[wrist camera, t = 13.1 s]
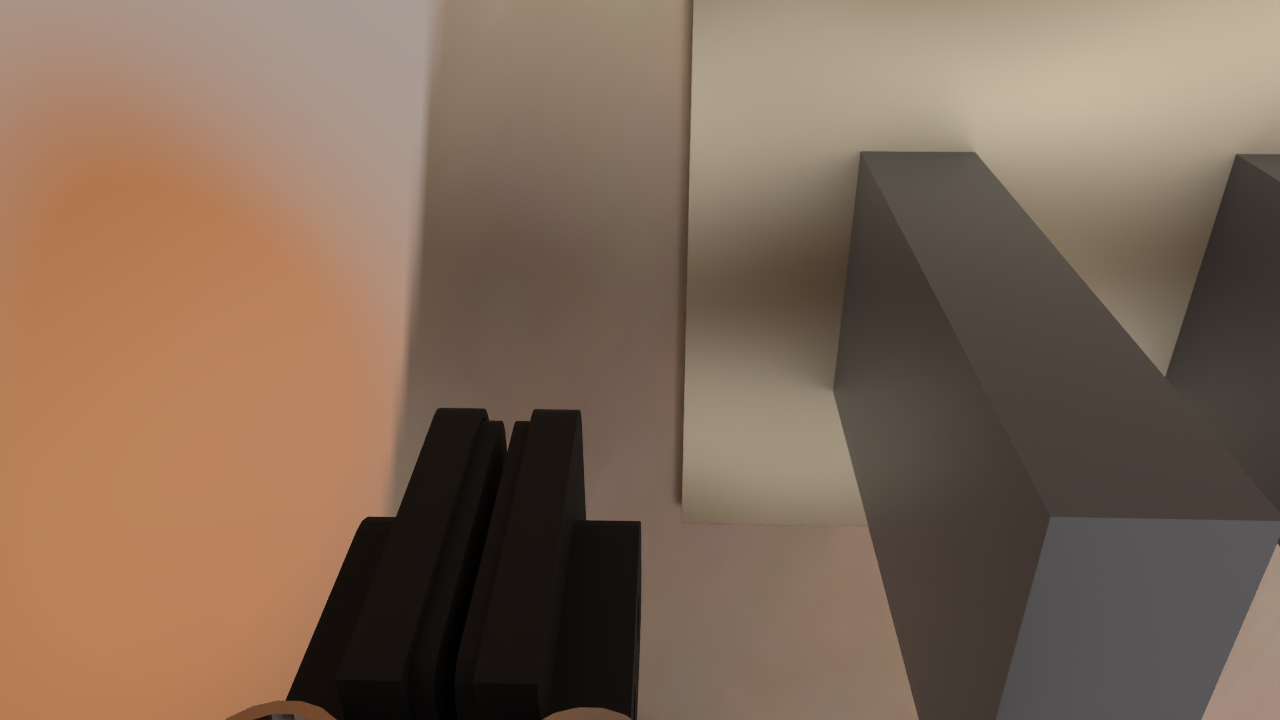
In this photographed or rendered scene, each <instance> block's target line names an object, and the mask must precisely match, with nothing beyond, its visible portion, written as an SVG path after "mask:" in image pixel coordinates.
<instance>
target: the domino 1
mask: <svg viewBox="0 0 1280 720" xmlns="http://www.w3.org/2000/svg"><path fill="white" fill-rule="evenodd" d="M833 393H834V397H835V401H836V405H837V409H838V412H839V416H840V420H841V424H842V428H843V432H844V435H845V439H846V443H847V447H848V451H849V454H850V458H851V462H852V466H853V470H854V474H855V477H856V481H857V485H858V489H859V493H860V496H861V500H862V504H863V508H864V512H865V516H866V519H867V523H868V527H869V531H870V535H871V538H872V542H873V546H874V550H875V554H876V558H877V561H878V565H879V569H880V573H881V577H882V580H883V584H884V588H885V592H886V596H887V599H888V603H889V607H890V611H891V615H892V619H893V622H894V626H895V630H896V634H897V638H898V641H899V645H900V649H901V653H902V657H903V661H904V664H905V668H906V672H907V676H908V680H909V683H910V687H911V691H912V695H913V699H914V703H915V706H916V710H917V714H918V718H919V720H1201V719H1202V716H1203V714H1204V712H1205V709H1206V707H1207V705H1208V703H1209V700H1210V698H1211V696H1212V693H1213V691H1214V689H1215V686H1216V684H1217V682H1218V679H1219V677H1220V675H1221V672H1222V670H1223V668H1224V665H1225V663H1226V661H1227V658H1228V656H1229V654H1230V651H1231V649H1232V647H1233V644H1234V642H1235V640H1236V638H1237V635H1238V633H1239V631H1240V628H1241V626H1242V624H1243V621H1244V619H1245V617H1246V614H1247V612H1248V610H1249V607H1250V605H1251V603H1252V600H1253V598H1254V596H1255V593H1256V591H1257V589H1258V586H1259V584H1260V582H1261V579H1262V577H1263V575H1264V573H1265V570H1266V568H1267V566H1268V563H1269V561H1270V559H1271V556H1272V554H1273V552H1274V549H1275V547H1276V545H1277V542H1278V540H1279V538H1280V513H1279V512H1278V511H1277V509H1276V508H1275V507H1274V506H1273V505H1272V503H1271V502H1270V501H1269V500H1268V499H1267V497H1266V496H1265V495H1264V494H1263V493H1262V492H1261V490H1260V489H1259V488H1258V487H1257V486H1256V484H1255V483H1254V482H1253V481H1252V480H1251V478H1250V477H1249V476H1248V475H1247V474H1246V473H1245V471H1244V470H1243V469H1242V468H1241V467H1240V465H1239V464H1238V463H1237V462H1236V461H1235V460H1234V458H1233V457H1232V456H1231V455H1230V454H1229V452H1228V451H1227V450H1226V449H1225V448H1224V446H1223V445H1222V444H1221V443H1220V442H1219V441H1218V439H1217V438H1216V437H1215V436H1214V435H1213V433H1212V432H1211V431H1210V430H1209V429H1208V428H1207V426H1206V425H1205V424H1204V423H1203V422H1202V420H1201V419H1200V418H1199V417H1198V416H1197V414H1196V413H1195V412H1194V411H1193V410H1192V409H1191V407H1190V406H1189V405H1188V404H1187V403H1186V401H1185V400H1184V399H1183V398H1182V397H1181V396H1180V394H1179V393H1178V392H1177V391H1176V390H1175V388H1174V387H1173V386H1172V385H1171V384H1170V382H1169V381H1168V380H1167V379H1166V378H1165V377H1164V375H1163V374H1162V373H1161V372H1160V371H1159V369H1158V368H1157V367H1156V366H1155V365H1154V364H1153V362H1152V361H1151V360H1150V359H1149V358H1148V356H1147V355H1146V354H1145V353H1144V352H1143V350H1142V349H1141V348H1140V347H1139V346H1138V345H1137V343H1136V342H1135V341H1134V340H1133V339H1132V337H1131V336H1130V335H1129V334H1128V333H1127V331H1126V330H1125V329H1124V328H1123V327H1122V326H1121V324H1120V323H1119V322H1118V321H1117V320H1116V318H1115V317H1114V316H1113V315H1112V314H1111V313H1110V311H1109V310H1108V309H1107V308H1106V307H1105V305H1104V304H1103V303H1102V302H1101V301H1100V299H1099V298H1098V297H1097V296H1096V295H1095V294H1094V292H1093V291H1092V290H1091V289H1090V288H1089V286H1088V285H1087V284H1086V283H1085V282H1084V281H1083V279H1082V278H1081V277H1080V276H1079V275H1078V273H1077V272H1076V271H1075V270H1074V269H1073V267H1072V266H1071V265H1070V264H1069V263H1068V262H1067V260H1066V259H1065V258H1064V257H1063V256H1062V254H1061V253H1060V252H1059V251H1058V250H1057V249H1056V247H1055V246H1054V245H1053V244H1052V243H1051V241H1050V240H1049V239H1048V238H1047V237H1046V235H1045V234H1044V233H1043V232H1042V231H1041V230H1040V228H1039V227H1038V226H1037V225H1036V224H1035V222H1034V221H1033V220H1032V219H1031V218H1030V217H1029V215H1028V214H1027V213H1026V212H1025V211H1024V209H1023V208H1022V207H1021V206H1020V205H1019V203H1018V202H1017V201H1016V200H1015V199H1014V198H1013V196H1012V195H1011V194H1010V193H1009V192H1008V190H1007V189H1006V188H1005V187H1004V186H1003V184H1002V183H1001V182H1000V181H999V180H998V179H997V177H996V176H995V175H994V174H993V173H992V171H991V170H990V169H989V168H988V167H987V166H986V164H985V163H984V162H983V161H982V160H981V158H980V157H979V156H978V155H977V154H976V152H889V151H861V152H860V161H859V170H858V178H857V187H856V196H855V204H854V213H853V222H852V231H851V239H850V248H849V257H848V265H847V274H846V283H845V291H844V300H843V309H842V317H841V326H840V335H839V344H838V352H837V361H836V370H835V378H834V387H833Z"/></svg>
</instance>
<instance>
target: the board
mask: <svg viewBox="0 0 1280 720" xmlns="http://www.w3.org/2000/svg"><path fill="white" fill-rule="evenodd" d="M861 151H889V152H976V154H977V155H978V156H979V157H980V158H981V160H982V161H983V162H984V163H985V164H986V166H987V167H988V168H989V169H990V170H991V171H992V173H993V174H994V175H995V176H996V177H997V179H998V180H999V181H1000V182H1001V183H1002V184H1003V186H1004V187H1005V188H1006V189H1007V190H1008V192H1009V193H1010V194H1011V195H1012V196H1013V198H1014V199H1015V200H1016V201H1017V202H1018V203H1019V205H1020V206H1021V207H1022V208H1023V209H1024V211H1025V212H1026V213H1027V214H1028V215H1029V217H1030V218H1031V219H1032V220H1033V221H1034V222H1035V224H1036V225H1037V226H1038V227H1039V228H1040V230H1041V231H1042V232H1043V233H1044V234H1045V235H1046V237H1047V238H1048V239H1049V240H1050V241H1051V243H1052V244H1053V245H1054V246H1055V247H1056V249H1057V250H1058V251H1059V252H1060V253H1061V254H1062V256H1063V257H1064V258H1065V259H1066V260H1067V262H1068V263H1069V264H1070V265H1071V266H1072V267H1073V269H1074V270H1075V271H1076V272H1077V273H1078V275H1079V276H1080V277H1081V278H1082V279H1083V281H1084V282H1085V283H1086V284H1087V285H1088V286H1089V288H1090V289H1091V290H1092V291H1093V292H1094V294H1095V295H1096V296H1097V297H1098V298H1099V299H1100V301H1101V302H1102V303H1103V304H1104V305H1105V307H1106V308H1107V309H1108V310H1109V311H1110V313H1111V314H1112V315H1113V316H1114V317H1115V318H1116V320H1117V321H1118V322H1119V323H1120V324H1121V326H1122V327H1123V328H1124V329H1125V330H1126V331H1127V333H1128V334H1129V335H1130V336H1131V337H1132V339H1133V340H1134V341H1135V342H1136V343H1137V345H1138V346H1139V347H1140V348H1141V349H1142V350H1143V352H1144V353H1145V354H1146V355H1147V356H1148V358H1149V359H1150V360H1151V361H1152V362H1153V364H1154V365H1155V366H1156V367H1157V368H1158V369H1159V371H1160V372H1161V373H1162V374H1163V375H1164V377H1165V376H1166V373H1167V370H1168V366H1169V363H1170V360H1171V357H1172V354H1173V351H1174V348H1175V344H1176V341H1177V338H1178V335H1179V332H1180V329H1181V326H1182V322H1183V319H1184V316H1185V313H1186V310H1187V307H1188V304H1189V300H1190V297H1191V294H1192V291H1193V288H1194V285H1195V282H1196V278H1197V275H1198V272H1199V269H1200V266H1201V263H1202V260H1203V256H1204V253H1205V250H1206V247H1207V244H1208V241H1209V238H1210V234H1211V231H1212V228H1213V225H1214V222H1215V219H1216V216H1217V212H1218V209H1219V206H1220V203H1221V200H1222V197H1223V193H1224V190H1225V187H1226V184H1227V181H1228V178H1229V175H1230V171H1231V168H1232V165H1233V162H1234V159H1235V156H1236V154H1280V0H693V30H692V74H691V117H690V161H689V205H688V249H687V292H686V336H685V380H684V423H683V467H682V523H707V524H759V525H811V526H863V527H868V523H867V519H866V516H865V512H864V508H863V504H862V500H861V496H860V493H859V489H858V485H857V481H856V477H855V474H854V470H853V466H852V462H851V458H850V454H849V451H848V447H847V443H846V439H845V435H844V432H843V428H842V424H841V420H840V416H839V412H838V409H837V405H836V401H835V397H834V393H833V387H834V378H835V370H836V361H837V352H838V344H839V335H840V326H841V317H842V309H843V300H844V291H845V283H846V274H847V265H848V257H849V248H850V239H851V231H852V222H853V213H854V204H855V196H856V187H857V178H858V170H859V161H860V152H861Z"/></svg>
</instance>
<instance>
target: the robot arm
mask: <svg viewBox="0 0 1280 720" xmlns="http://www.w3.org/2000/svg"><path fill="white" fill-rule="evenodd" d="M640 626H641V522H640V521H591V520H586V510H585V487H584V464H583V442H582V421H581V412H580V410H550V409H535V410H533V413H532V416H531V421H516V422H515V424H514V428H513V432H512V436H511V440H510V444H509V448H508V452H507V446H506V436H505V427H504V423H503V422H502V421H489V419H488V414H487V411H486V410H485V409H476V408H439V409H437V411H436V413H435V415H434V417H433V420H432V423H431V425H430V428H429V431H428V433H427V436H426V439H425V441H424V444H423V447H422V449H421V452H420V455H419V457H418V460H417V463H416V465H415V468H414V471H413V473H412V476H411V479H410V481H409V484H408V487H407V489H406V492H405V495H404V497H403V500H402V503H401V505H400V508H399V511H398V513H397V516H396V517H367V518H365V519H364V520H363V521H362V522H361V524H360V526H359V528H358V530H357V531H356V534H355V536H354V539H353V541H352V543H351V546H350V548H349V550H348V553H347V555H346V558H345V560H344V562H343V565H342V567H341V569H340V572H339V574H338V577H337V579H336V582H335V584H334V586H333V589H332V591H331V593H330V596H329V598H328V600H327V603H326V605H325V608H324V610H323V612H322V615H321V618H320V620H319V622H318V624H317V627H316V629H315V631H314V634H313V636H312V639H311V641H310V644H309V646H308V648H307V651H306V653H305V655H304V658H303V660H302V663H301V665H300V667H299V670H298V672H297V674H296V677H295V679H294V682H293V684H292V687H291V689H290V691H289V693H288V696H287V699H286V701H274V702H270V703H265V704H261V705H257V706H252V707H250V708H248V709H246V710H244V711H242V712H240V713H237V714H235V715H233V716H231V717H229V718H227V719H226V720H637V705H638V680H639V654H640Z"/></svg>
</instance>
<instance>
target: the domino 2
mask: <svg viewBox="0 0 1280 720" xmlns="http://www.w3.org/2000/svg"><path fill="white" fill-rule="evenodd" d="M1165 378H1166V379H1167V380H1168V381H1169V382H1170V384H1171V385H1172V386H1173V387H1174V388H1175V390H1176V391H1177V392H1178V393H1179V394H1180V396H1181V397H1182V398H1183V399H1184V400H1185V401H1186V403H1187V404H1188V405H1189V406H1190V407H1191V409H1192V410H1193V411H1194V412H1195V413H1196V414H1197V416H1198V417H1199V418H1200V419H1201V420H1202V422H1203V423H1204V424H1205V425H1206V426H1207V428H1208V429H1209V430H1210V431H1211V432H1212V433H1213V435H1214V436H1215V437H1216V438H1217V439H1218V441H1219V442H1220V443H1221V444H1222V445H1223V446H1224V448H1225V449H1226V450H1227V451H1228V452H1229V454H1230V455H1231V456H1232V457H1233V458H1234V460H1235V461H1236V462H1237V463H1238V464H1239V465H1240V467H1241V468H1242V469H1243V470H1244V471H1245V473H1246V474H1247V475H1248V476H1249V477H1250V478H1251V480H1252V481H1253V482H1254V483H1255V484H1256V486H1257V487H1258V488H1259V489H1260V490H1261V492H1262V493H1263V494H1264V495H1265V496H1266V497H1267V499H1268V500H1269V501H1270V502H1271V503H1272V505H1273V506H1274V507H1275V508H1276V509H1277V511H1278V512H1279V513H1280V154H1236V156H1235V159H1234V162H1233V165H1232V168H1231V171H1230V175H1229V178H1228V181H1227V184H1226V187H1225V190H1224V193H1223V197H1222V200H1221V203H1220V206H1219V209H1218V212H1217V216H1216V219H1215V222H1214V225H1213V228H1212V231H1211V234H1210V238H1209V241H1208V244H1207V247H1206V250H1205V253H1204V256H1203V260H1202V263H1201V266H1200V269H1199V272H1198V275H1197V278H1196V282H1195V285H1194V288H1193V291H1192V294H1191V297H1190V300H1189V304H1188V307H1187V310H1186V313H1185V316H1184V319H1183V322H1182V326H1181V329H1180V332H1179V335H1178V338H1177V341H1176V344H1175V348H1174V351H1173V354H1172V357H1171V360H1170V363H1169V366H1168V370H1167V373H1166V376H1165ZM1277 543H1278V544H1279V546H1280V538H1279V540H1278V542H1277Z"/></svg>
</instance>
